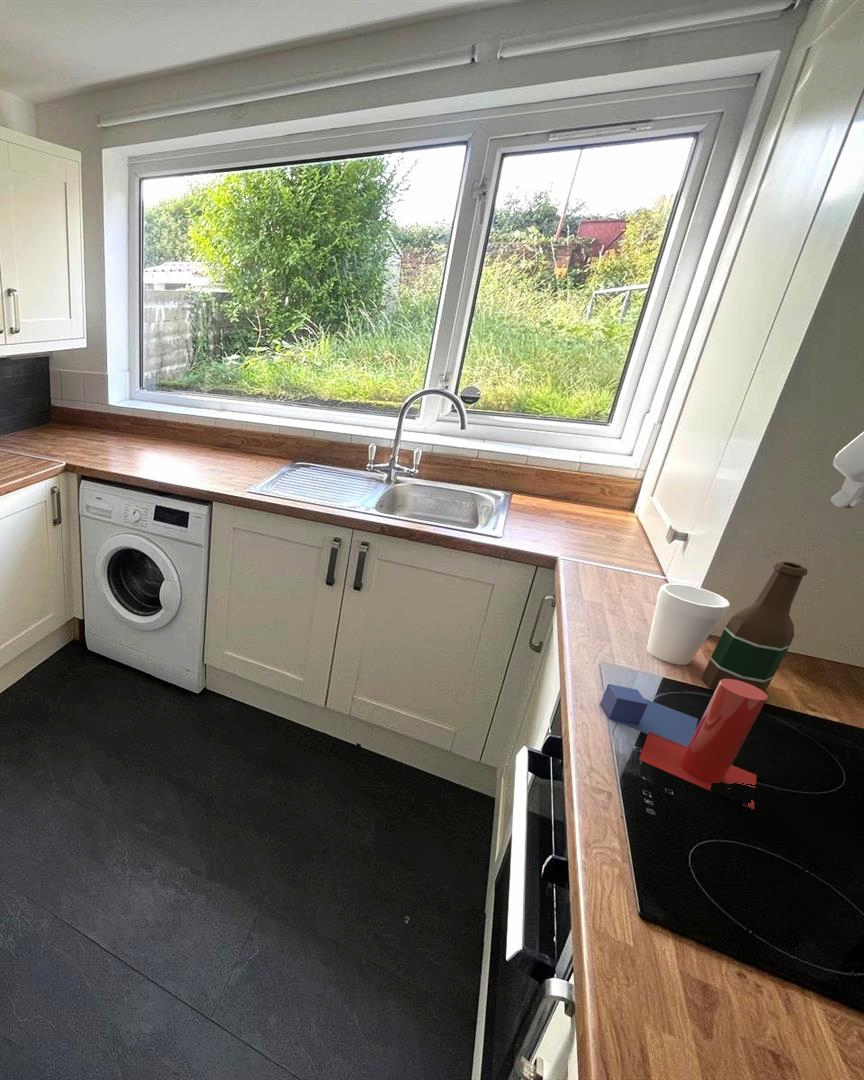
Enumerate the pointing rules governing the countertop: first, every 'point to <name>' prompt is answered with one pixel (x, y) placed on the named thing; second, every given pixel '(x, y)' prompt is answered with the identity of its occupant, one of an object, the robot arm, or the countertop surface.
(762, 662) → the beer bottle
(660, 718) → the blue mat
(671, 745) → the red mat
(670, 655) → the foam cup
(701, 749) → the red canister
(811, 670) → the countertop surface
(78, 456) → the countertop surface
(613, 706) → the blue block
